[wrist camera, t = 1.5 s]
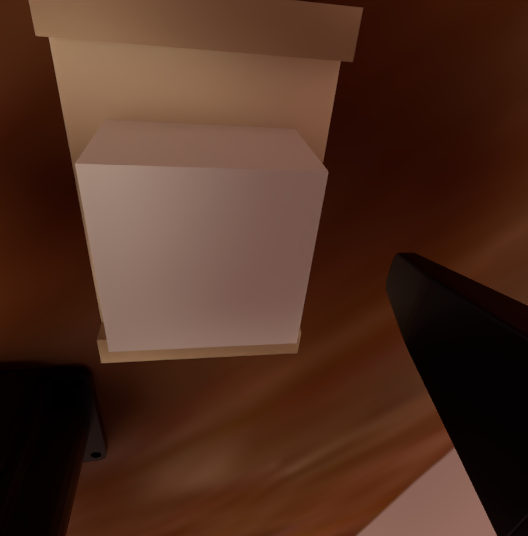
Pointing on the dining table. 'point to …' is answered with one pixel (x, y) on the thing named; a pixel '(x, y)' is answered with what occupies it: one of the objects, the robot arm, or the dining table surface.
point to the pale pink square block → (200, 232)
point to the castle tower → (196, 80)
